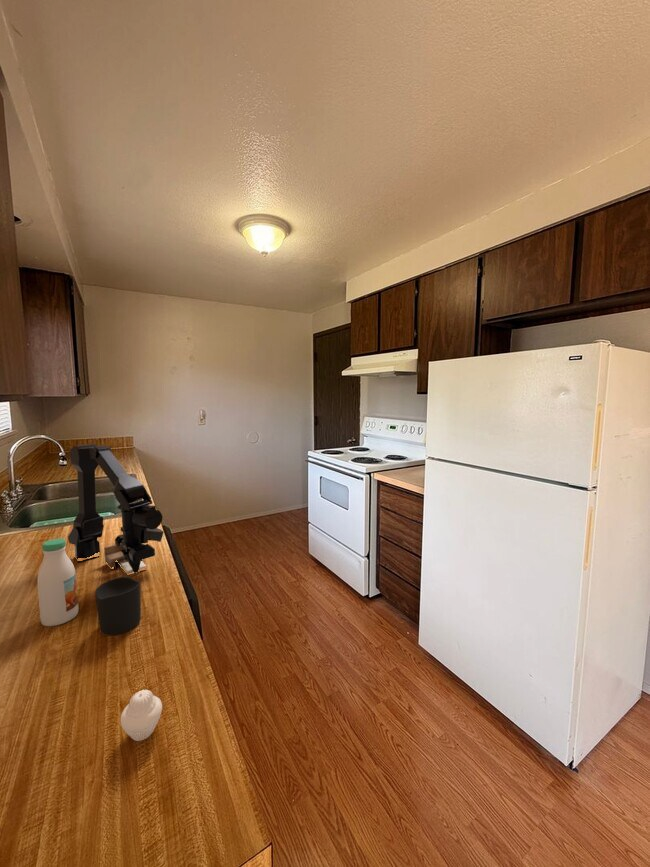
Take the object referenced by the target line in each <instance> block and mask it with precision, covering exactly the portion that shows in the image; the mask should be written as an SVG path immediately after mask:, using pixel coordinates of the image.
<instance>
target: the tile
mask: <svg viewBox="0 0 650 867" xmlns="http://www.w3.org/2000/svg"><path fill="white" fill-rule="evenodd" d="M117 561H118V563H119V564H120V565H121V567H122V568H123V569H124V570H125V572H126V573H127V574H129V573H132V572H133V570H132V568H131V567H130V565H129V563H128V562H127V560H126V558H123V559H120V560H117ZM143 568H147V565H146V563H144V561H141V563H140V567H139V570H140V569H143ZM147 569H148V568H147ZM125 572H124V573H125Z"/></svg>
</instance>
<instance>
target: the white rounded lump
mask: <svg viewBox="0 0 650 867" xmlns="http://www.w3.org/2000/svg"><path fill="white" fill-rule="evenodd" d="M162 712H163V703H162V700H161V699H160V697H159V696H158V697H157V696H156V695H154V694H153V692H152V691H151V690H148V689H142V690H139V691H138V692H135V694H133V695H132V696H131V698H130V699H129V703H128V704H127V705H126V706H125V707H124V709H123V710H122V713H121V715H120V724H121V727H122V729H123V731H124V732H125V733H126V734H127V736H129V737H130V738H131V739H132V740H133V741H135V742H140V741H141V742H142V741H145V740H146V739H148V738H149V737H150V736H152V734H153V732H154V730H155V728H156V727H157V725H158V722H159V720H160V718H161V714H162Z"/></svg>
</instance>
